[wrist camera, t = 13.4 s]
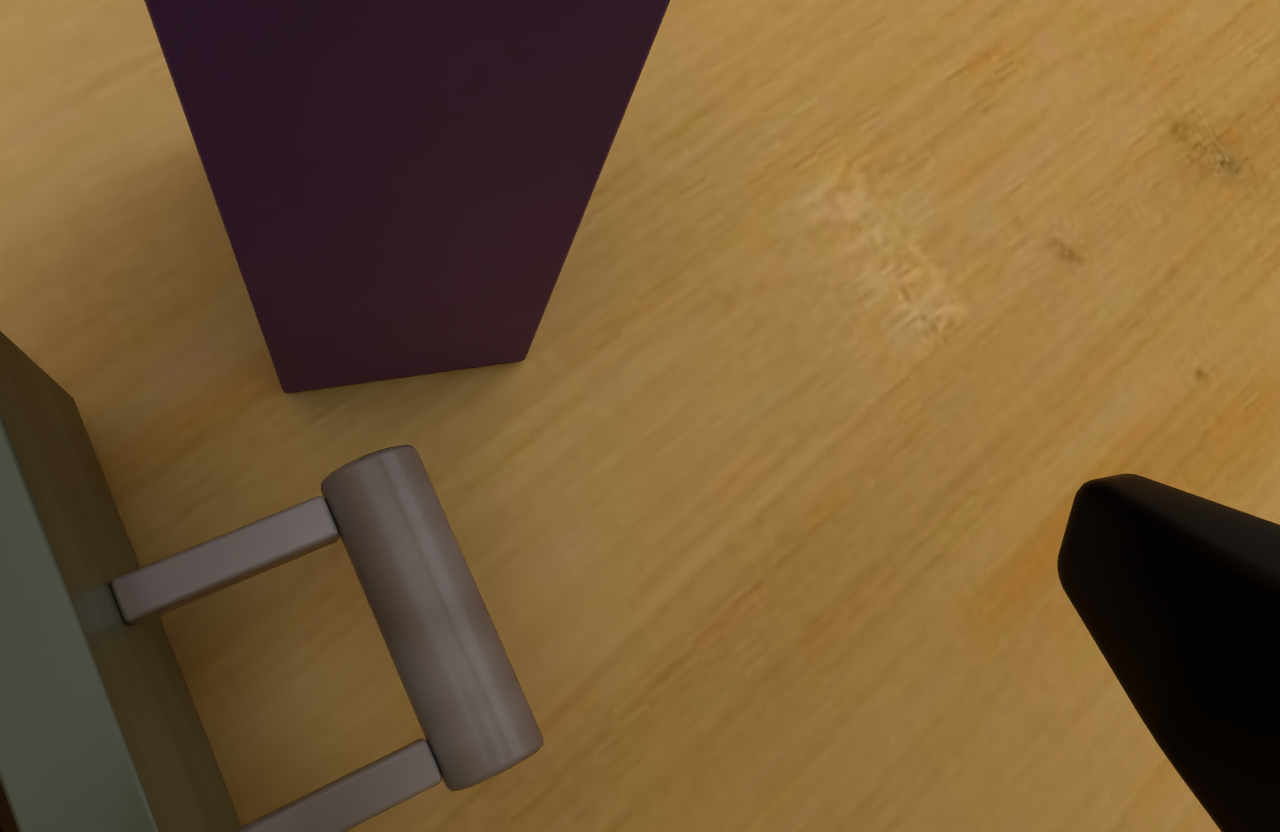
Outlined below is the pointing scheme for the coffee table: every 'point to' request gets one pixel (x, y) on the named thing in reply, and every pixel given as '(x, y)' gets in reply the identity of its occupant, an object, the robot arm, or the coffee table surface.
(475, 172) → the snack box
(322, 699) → the coffee table surface
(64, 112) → the coffee table surface
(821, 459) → the coffee table surface
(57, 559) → the drawer
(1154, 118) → the coffee table surface
